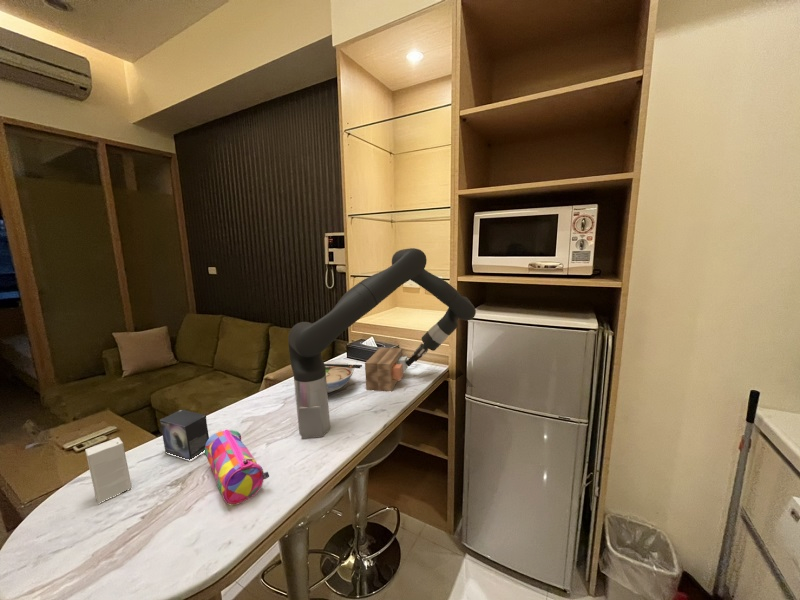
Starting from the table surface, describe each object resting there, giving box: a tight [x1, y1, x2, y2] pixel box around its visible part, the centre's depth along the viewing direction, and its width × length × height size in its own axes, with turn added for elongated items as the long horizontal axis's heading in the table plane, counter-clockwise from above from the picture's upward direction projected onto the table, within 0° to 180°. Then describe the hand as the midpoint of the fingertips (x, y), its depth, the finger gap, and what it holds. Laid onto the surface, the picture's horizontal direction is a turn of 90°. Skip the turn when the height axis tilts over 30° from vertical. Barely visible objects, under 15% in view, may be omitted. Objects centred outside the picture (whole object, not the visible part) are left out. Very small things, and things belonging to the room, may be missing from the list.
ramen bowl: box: [324, 361, 363, 394], centre depth 124 cm, size 25×23×8 cm
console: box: [364, 347, 403, 392], centre depth 130 cm, size 10×20×11 cm, turn 166°
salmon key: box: [392, 364, 404, 381], centre depth 125 cm, size 7×5×5 cm
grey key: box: [398, 355, 409, 373], centre depth 134 cm, size 7×5×5 cm
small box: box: [159, 409, 210, 460], centre depth 87 cm, size 11×6×10 cm, turn 68°
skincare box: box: [84, 436, 133, 504], centre depth 72 cm, size 6×4×12 cm
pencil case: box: [204, 429, 270, 506], centre depth 76 cm, size 22×9×9 cm, turn 43°
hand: (407, 364), depth 133 cm, fingers closed
